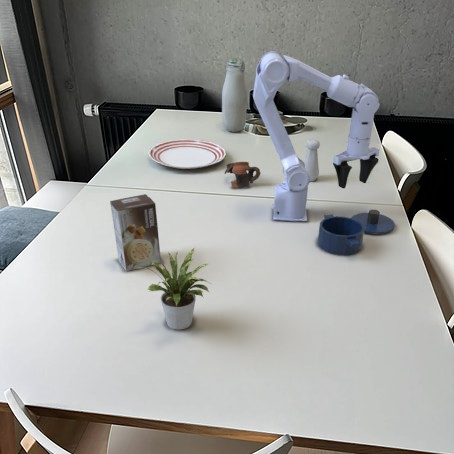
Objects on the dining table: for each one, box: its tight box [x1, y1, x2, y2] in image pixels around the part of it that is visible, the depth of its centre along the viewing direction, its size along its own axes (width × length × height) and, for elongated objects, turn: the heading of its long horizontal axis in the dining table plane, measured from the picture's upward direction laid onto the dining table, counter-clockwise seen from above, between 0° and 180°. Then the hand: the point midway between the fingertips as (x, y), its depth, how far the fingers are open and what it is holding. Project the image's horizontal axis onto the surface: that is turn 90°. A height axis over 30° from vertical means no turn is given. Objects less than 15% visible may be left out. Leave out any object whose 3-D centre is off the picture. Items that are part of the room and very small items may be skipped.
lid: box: [351, 209, 396, 235], centre depth 144 cm, size 12×12×4 cm
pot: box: [317, 213, 365, 256], centre depth 134 cm, size 11×17×5 cm
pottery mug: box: [224, 161, 261, 189], centre depth 168 cm, size 12×10×8 cm
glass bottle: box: [221, 57, 248, 133], centre depth 207 cm, size 10×10×28 cm
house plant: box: [137, 247, 212, 331], centre depth 102 cm, size 14×14×16 cm
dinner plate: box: [148, 138, 227, 170], centre depth 185 cm, size 28×27×3 cm
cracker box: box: [109, 193, 162, 272], centre depth 123 cm, size 9×6×16 cm
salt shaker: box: [303, 138, 321, 182], centre depth 169 cm, size 6×6×13 cm
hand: (352, 184), depth 145 cm, fingers open, 7 cm apart
